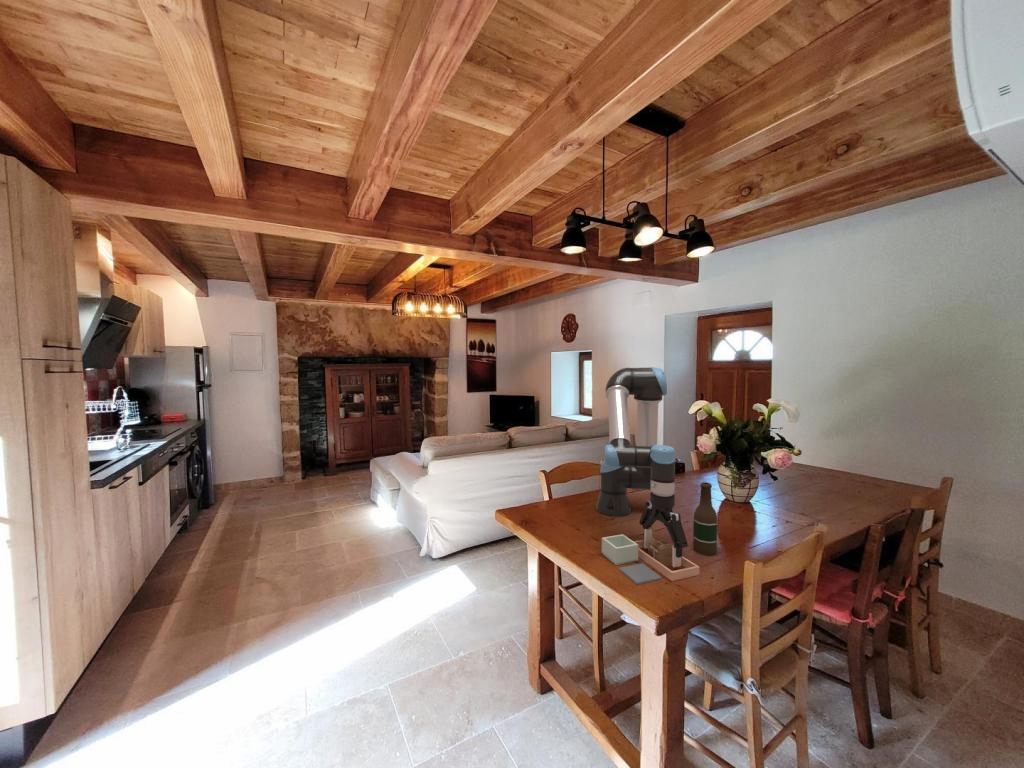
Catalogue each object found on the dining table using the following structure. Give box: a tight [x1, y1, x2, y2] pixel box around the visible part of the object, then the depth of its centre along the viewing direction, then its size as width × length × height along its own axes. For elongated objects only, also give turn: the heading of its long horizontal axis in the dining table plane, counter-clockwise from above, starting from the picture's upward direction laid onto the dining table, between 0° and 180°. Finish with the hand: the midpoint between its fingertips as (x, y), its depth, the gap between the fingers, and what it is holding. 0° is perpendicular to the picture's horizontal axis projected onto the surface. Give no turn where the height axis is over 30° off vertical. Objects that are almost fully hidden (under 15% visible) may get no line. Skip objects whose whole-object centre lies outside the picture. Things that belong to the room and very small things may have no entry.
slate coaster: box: [618, 562, 663, 586], centre depth 119 cm, size 9×9×1 cm
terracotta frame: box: [633, 537, 701, 582], centre depth 127 cm, size 22×11×2 cm, turn 19°
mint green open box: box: [601, 533, 639, 566], centre depth 130 cm, size 9×9×6 cm
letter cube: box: [647, 538, 675, 567], centre depth 127 cm, size 6×6×6 cm
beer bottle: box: [692, 481, 718, 557], centre depth 134 cm, size 8×8×24 cm
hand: (661, 556), depth 127 cm, fingers open, 13 cm apart
